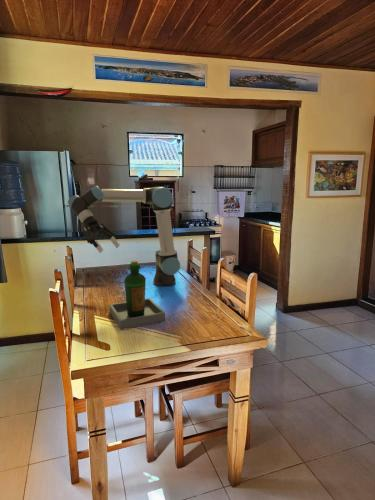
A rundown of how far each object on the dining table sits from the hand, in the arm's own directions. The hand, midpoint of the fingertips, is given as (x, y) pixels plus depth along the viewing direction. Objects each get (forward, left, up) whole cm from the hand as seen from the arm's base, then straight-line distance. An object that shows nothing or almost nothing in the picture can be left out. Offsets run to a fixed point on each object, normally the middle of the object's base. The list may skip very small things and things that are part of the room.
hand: (110, 248), depth 174 cm
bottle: (-6, +24, -30) cm, 39 cm away
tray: (-7, +24, -31) cm, 40 cm away
